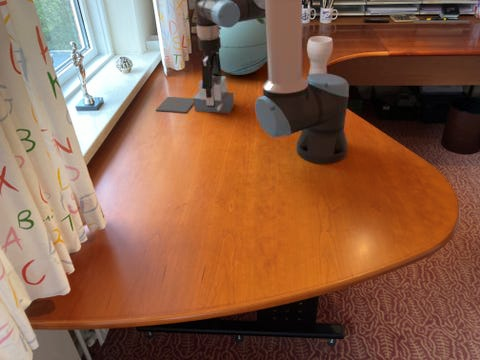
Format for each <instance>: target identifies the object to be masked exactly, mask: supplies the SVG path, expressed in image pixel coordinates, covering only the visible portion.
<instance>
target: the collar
mask: <svg viewBox="0 0 480 360" xmlns="http://www.w3.org/2000/svg"><path fill="white" fill-rule="evenodd" d="M197 86H198V92H199V96H200V99H202V100H206V94H205V89H203V88H202V79H201V80H199V82H198V83H197ZM212 88H213V95H214V100H218V101H221V100H222V99H223V97H224V96H225V94H226V93H228V87H227V76H226V75H225V76H224V75H222V76H216V82H212Z"/></svg>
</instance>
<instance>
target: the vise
mask: <svg viewBox="0 0 480 360" xmlns="http://www.w3.org/2000/svg"><path fill="white" fill-rule="evenodd" d="M212 82H216V76H213V75H212ZM234 96H235V95H234V92H227V93H226V94H225V96H224V97H223V99H222V100H221V101H218V100H214V106H211V105H206V100H202V99H200V96H199V91H198V92H197V93H196V94H195V95H194V96H193V97H192V98H193V99H194V104H193V106H194V112H201V113H202V112H204V113H216V114H217V113H219V114H230V113H231V111H232V110H233V108H234V106H235V102H234V101H235V100H234V99H235V98H234Z"/></svg>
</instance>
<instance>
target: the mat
mask: <svg viewBox="0 0 480 360" xmlns="http://www.w3.org/2000/svg"><path fill="white" fill-rule="evenodd" d="M193 98H194V97H176V96H167V97H166V98H165V99H164V100H163V101H162V102H161V104H159V105H158V107H157V108H156V109H155V112H163V113H175V114H187V113H188V112H189V111H190V109H191V108H192V107H193V106H194V99H193Z"/></svg>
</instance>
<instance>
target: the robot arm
mask: <svg viewBox="0 0 480 360" xmlns="http://www.w3.org/2000/svg"><path fill="white" fill-rule="evenodd" d="M193 2H194V10H195V20H196V21H195V22H196V33H197V34H196V35H197V37H198V38H197V43H198V49H199V50H200V51H201V52H203V58H202V59H201V60H200V63H201V80H202V88H203V89H205V94H206V105H211V106H214V95H213V88H212V76H223V73H222V70H221V65H220V57H219V49H220V48H221V42H220V37H219V35H220V30H221V27H219V26H222V27H226V28H230V27H233V26H234V25H235V24H236V23H237V22H242V21H247V20H253V19H259V18H266V36H267V58H268V60H267V80H266V82H264V84H263V85H262V92H263V95H260V96H258V98H257V99H256V101H255V104H254V110H255V115H256V119H257V120H258V123H259V125H260V126H261V128H262V129H263V130H264V132H265V133H266V134H267V135H268V136H270V137H273V138H277V139H278V138H281V137H285V136H286V137H288V136H290V135H292V134H295V133H299V132H300V134H299V136H298V139H297V141H296V153H297V155H298V156H299V157H300V158H302V159H304V160H305V161H308V162H310V163H315V164H322V165H323V164H333V163H337V162H340V161H342V160H343V159H344V158H346V156H348V155H347V154H348V147H349V144H348V141H347V137H346V132H345V124H346V116H347V109H348V103H349V102H348V101H349V97H350V95H349V93H350V92H349V91H350V90H349V89H350V85H349V83H348V80H346V79H345V78H344V77H341V76H338V75H335V74H331V73H327V74H325V73H315V74H310V75H309V74H308V76H307V77H306V79H305V78H304V77H303V8H302V7H303V0H193Z"/></svg>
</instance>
